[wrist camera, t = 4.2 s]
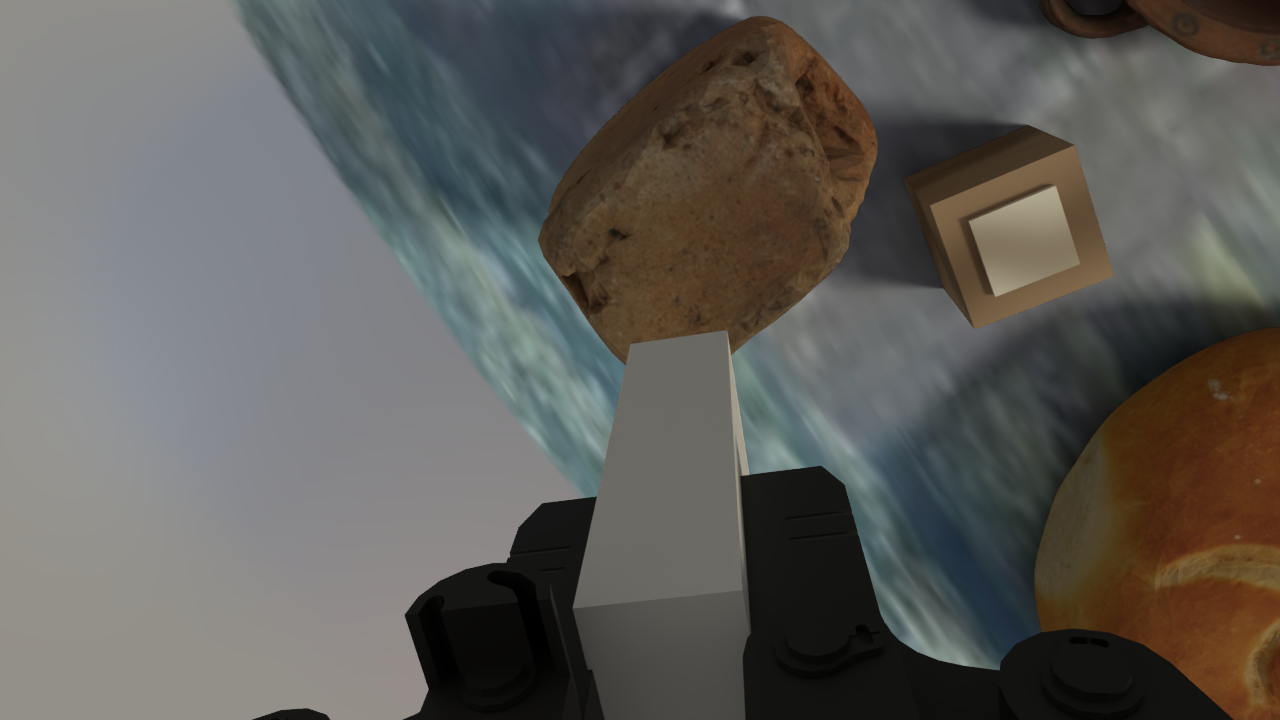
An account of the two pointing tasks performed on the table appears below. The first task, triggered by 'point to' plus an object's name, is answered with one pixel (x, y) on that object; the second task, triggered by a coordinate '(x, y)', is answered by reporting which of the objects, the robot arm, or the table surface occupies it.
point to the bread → (1181, 525)
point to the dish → (1186, 25)
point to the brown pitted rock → (713, 192)
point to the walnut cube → (1010, 224)
